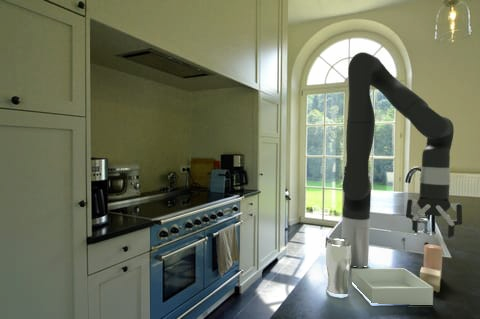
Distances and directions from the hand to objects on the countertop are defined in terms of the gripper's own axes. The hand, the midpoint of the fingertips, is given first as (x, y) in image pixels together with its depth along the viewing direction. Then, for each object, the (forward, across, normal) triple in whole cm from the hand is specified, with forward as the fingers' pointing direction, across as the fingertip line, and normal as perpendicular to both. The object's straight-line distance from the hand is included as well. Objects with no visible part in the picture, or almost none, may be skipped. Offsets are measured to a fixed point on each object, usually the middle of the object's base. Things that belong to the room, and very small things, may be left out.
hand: (432, 234), depth 91 cm
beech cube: (+16, 0, 0) cm, 16 cm away
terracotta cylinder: (+16, 0, -9) cm, 19 cm away
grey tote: (+16, +9, +13) cm, 23 cm away
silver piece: (+16, +22, +22) cm, 35 cm away
